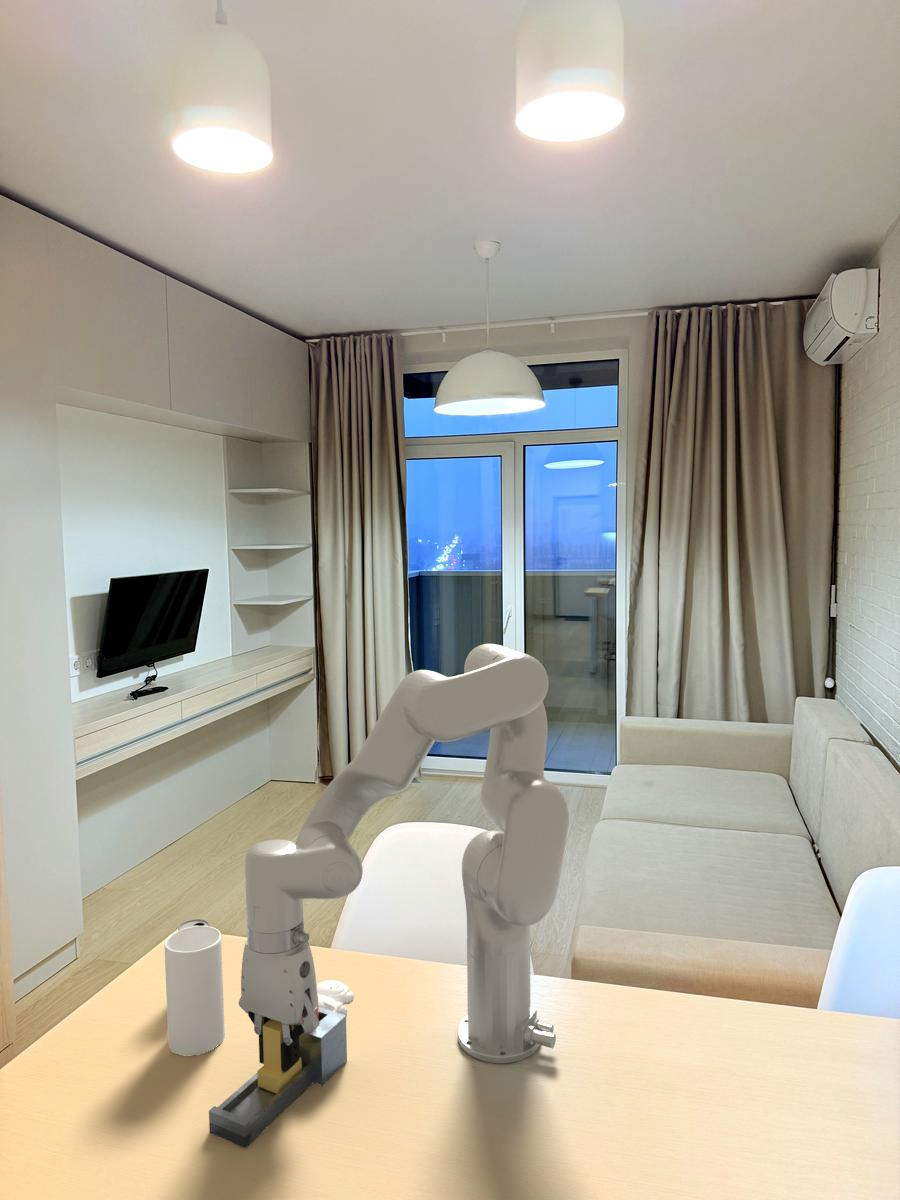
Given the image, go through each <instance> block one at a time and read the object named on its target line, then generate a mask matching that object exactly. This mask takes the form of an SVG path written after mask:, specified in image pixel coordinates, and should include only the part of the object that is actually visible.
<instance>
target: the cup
mask: <svg viewBox="0 0 900 1200" xmlns="http://www.w3.org/2000/svg"><path fill="white" fill-rule="evenodd" d="M222 943H223V942H222V933H221V931H220V930H219V929H217V928H215V927H212V926H210V927H209V926H193V927H188V928H184V929H181V930H178V929H177V930H176V931H174V932H173V933H171V934H170V935H168V936H167V938H165V940H164V945H163V946H164V947H163V948H164V964H165V965H164V969H165V971H164V972H165V989H166V991H165V992H166V993H165V994H166V1016H167V1019H166V1020H167V1039H168V1040H167V1042H168V1048H169V1050H170V1051H171V1052H172V1053H173V1054H175V1055H177V1054H179V1055H178V1056H181V1055H186V1056H185V1057H193V1056H192V1055H196V1056H199V1055H198V1054H201V1055H203V1053H204V1054H206V1053H205V1052H207V1051H209V1052H211V1051H213V1050H214V1049H213V1048H215V1047H216V1046H217V1045H219V1044H220V1043H221V1042H222V1043H223V1041H224V1040H223V1039H225V1037H224V1036H226V1031H225V1030H226V1029H225V1004H224V1002H225V1001H224V1000H225V998H224V979H223V978H224V975H223V974H224V973H223V972H224V971H223V949H222V948H223V947H222V946H223V945H222ZM222 1043H221V1044H222ZM221 1044H220V1045H221ZM220 1045H219V1046H220ZM216 1048H217V1047H216ZM216 1048H215V1049H216ZM212 1049H213V1050H212ZM210 1050H211V1051H210ZM207 1053H208V1052H207ZM187 1055H188V1056H187ZM189 1055H191V1056H189Z"/></svg>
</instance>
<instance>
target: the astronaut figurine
mask: <svg viewBox="0 0 900 1200" xmlns="http://www.w3.org/2000/svg"><path fill="white" fill-rule="evenodd" d="M316 985H317V995H318V1006H319V1007H321V1008H324V1009H327V1010H330V1011H333V1012H337V1013H340V1014H343V1015H346V1016H347V1014H348V1008H347V1007H346V1005H344V1004H346V1003H348V1004H349V1003H351V1002H352V1001H353V1000H354V999H355V995H354V994H355V993H354V992H353V991H350V988H349V987H348V985H346V984H345V983H343V982H342V981H339V980H333V979H329V980H322V981H321V982H319V983H318V984H316Z"/></svg>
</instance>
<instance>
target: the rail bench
mask: <svg viewBox="0 0 900 1200" xmlns="http://www.w3.org/2000/svg"><path fill="white" fill-rule="evenodd" d="M319 1023H320V1025H319V1026H318V1027H317V1028H316V1029H315V1030H313V1031H311V1032H308V1033H303V1034H302V1035H300V1036H299V1050H300V1057H301V1060H302V1071H300V1072H299V1073H298V1074H297V1075H296V1076H295V1077H294V1078H293V1079H292V1080H291V1081H290V1082H289V1083H288V1084H286V1085H285V1086H284V1087H283V1088H282V1089H281V1090H280V1091H279V1092H278V1093H277V1094H276V1093H274V1092H271V1091H269V1090H266V1089H263V1088H261V1087H258V1075H257V1072H256V1073H255V1074H254V1075H253V1076H252V1077H250V1078H249V1079H248V1080H247V1081H246V1082H245V1083H243V1084H242V1085H241V1086H240V1087H239V1088H238V1089H237V1090H235V1091H234V1092H233V1093H232V1094H231V1095H230V1096H228V1097H227V1098H226V1099H225V1100H223V1102H222V1103H220V1104H219V1105H218V1106H212V1108H210V1109H209V1110H208V1123H209V1126H208V1127H209V1134H211V1135H213V1136H216V1137H218V1138H220V1137H221V1139H223V1140H225V1141H227V1142H230V1143H232V1144H234V1145H236V1146H239V1147H241V1148H243V1149H244V1150H245V1149H247V1148H248V1147H249V1146H250V1145H251V1144H252V1143H253V1142H255V1140H256V1139H257V1138H258V1137H259V1136H260V1135H262V1133H263V1132H264V1131H265V1130H267V1128H269V1127H270V1126H271V1124H272V1123H274V1121H276V1120H277V1119H278V1118H279V1117H280V1116H281V1115H282V1113H283V1114H284V1112H285V1111H286V1110H287V1109H288V1108H289V1107H290V1106H291V1105H292V1104H293V1103H294V1102H295V1101H296V1100H297V1099H298V1098H299V1097H301V1095H302V1094H304V1093H305V1091H306V1090H308V1089H309V1087H311V1086H312V1085H313V1084H317V1085H319V1086H324V1085H325V1084H326V1083H327V1082H328V1081H330V1079H331V1078H332V1077H333V1076H334V1075H335V1074H336V1073H337V1072H338V1071H339V1070H340V1069H341V1068H342V1067H343V1066H344V1065H345V1064H346V1063H347V1062H348V1049H347V1044H348V1042H347V1014H346V1015H343V1014H340V1013H337V1012H333V1011H330V1010H327V1009H324V1008H321V1007H319ZM312 1083H313V1084H312Z"/></svg>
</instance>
